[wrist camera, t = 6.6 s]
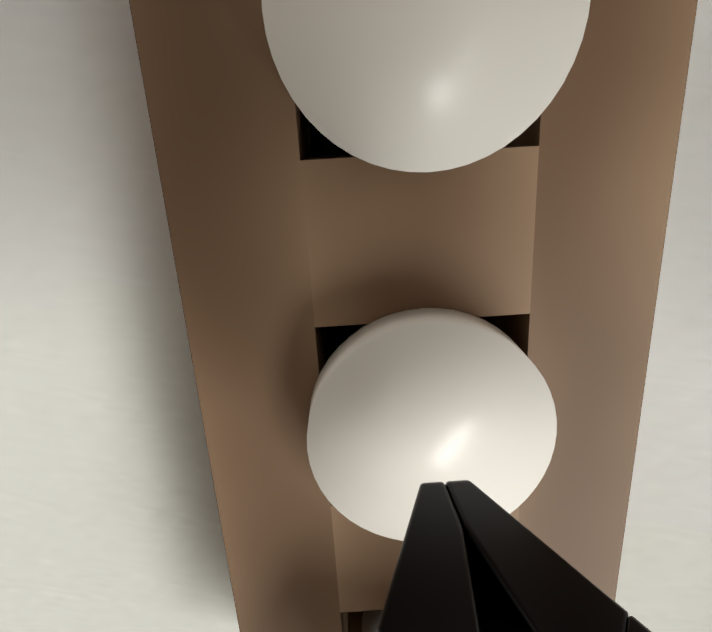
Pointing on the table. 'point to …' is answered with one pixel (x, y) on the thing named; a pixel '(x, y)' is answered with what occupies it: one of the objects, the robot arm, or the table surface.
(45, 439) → the table surface
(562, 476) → the knob mount
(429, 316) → the knob middle
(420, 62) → the knob
